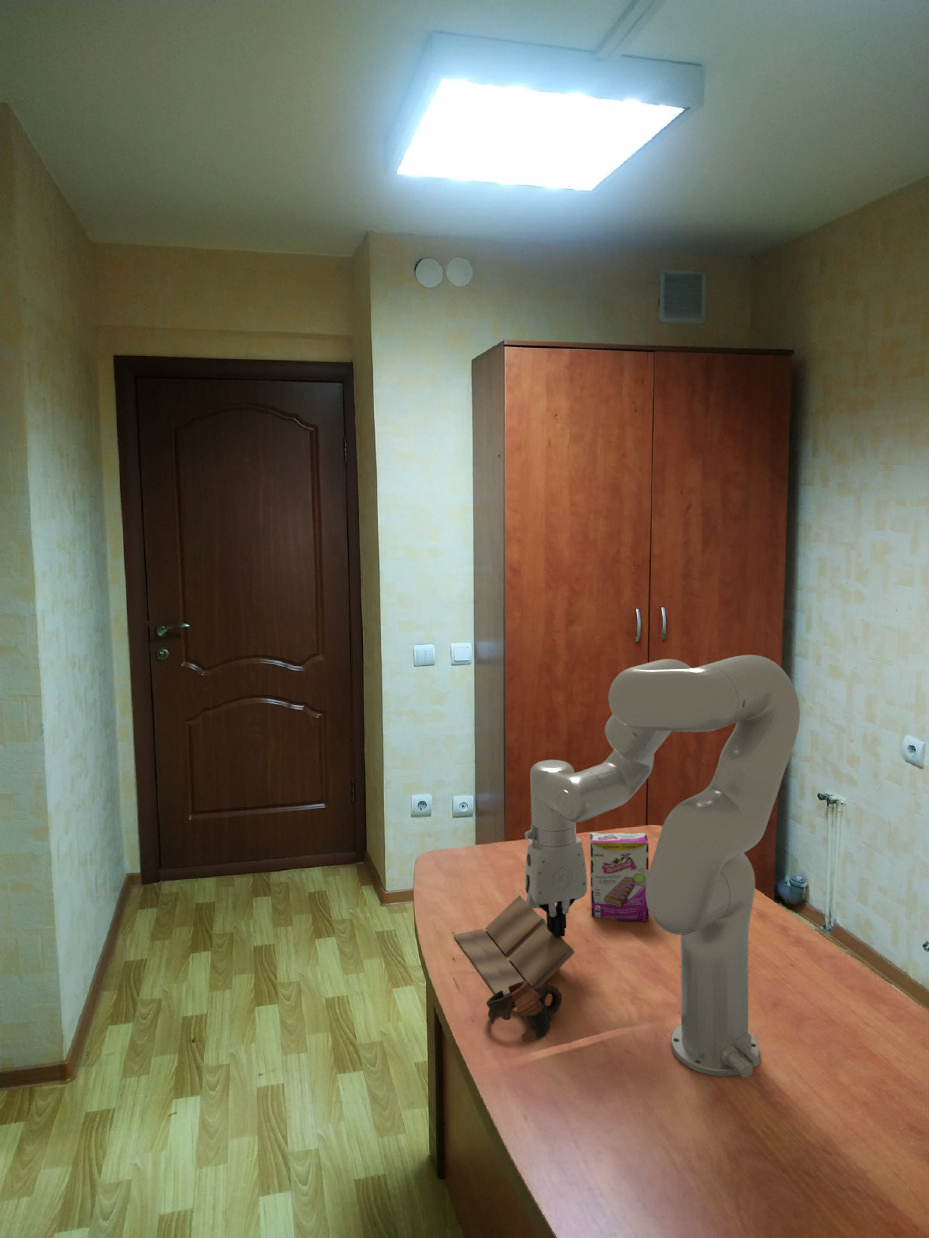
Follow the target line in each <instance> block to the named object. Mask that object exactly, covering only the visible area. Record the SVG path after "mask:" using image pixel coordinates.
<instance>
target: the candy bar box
mask: <svg viewBox="0 0 929 1238" xmlns="http://www.w3.org/2000/svg"><path fill="white" fill-rule="evenodd" d="M649 851H650V850H649V840H648V835H647V833H645V832H589V859H590V860H589V862H590V863H589V865H590V866H589V867H590V869H589V870H590V871H589V874H590V875H589V876H590V914H591V917H592V918H613V919H614V920H616V921H617V922H649V921H650V920H649V917H650V912H649V910H648V907H647V902H646V882H647V878H648V874H649V857H650V856H649Z"/></svg>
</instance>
